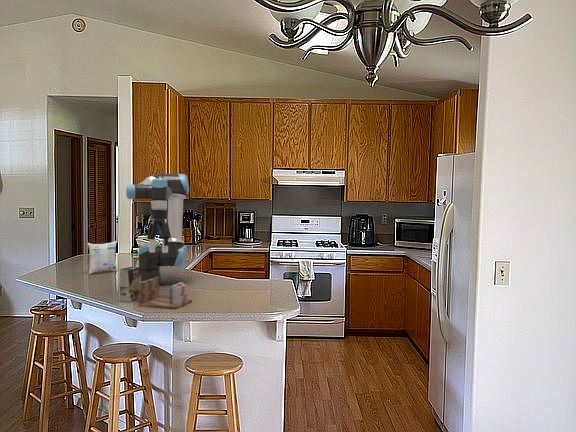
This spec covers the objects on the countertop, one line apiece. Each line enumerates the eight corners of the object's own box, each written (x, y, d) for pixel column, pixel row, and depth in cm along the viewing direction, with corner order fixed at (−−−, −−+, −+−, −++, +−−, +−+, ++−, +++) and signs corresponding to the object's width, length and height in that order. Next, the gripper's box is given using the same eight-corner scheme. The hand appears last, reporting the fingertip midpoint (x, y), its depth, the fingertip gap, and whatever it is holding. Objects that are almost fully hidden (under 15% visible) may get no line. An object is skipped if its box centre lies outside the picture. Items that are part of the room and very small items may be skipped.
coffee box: (130, 302, 270) (129, 270, 269) (119, 301, 273) (119, 269, 271) (141, 298, 279) (141, 267, 277) (131, 297, 281) (131, 266, 280)
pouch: (120, 272, 351) (119, 241, 349) (89, 275, 339) (89, 243, 337) (115, 270, 357) (115, 240, 355) (85, 273, 345) (85, 242, 344)
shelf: (156, 298, 278) (156, 277, 277) (191, 302, 272) (191, 279, 271) (138, 306, 263) (138, 282, 262) (175, 309, 257) (175, 285, 256)
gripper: (140, 210, 279) (140, 252, 278) (164, 208, 260) (163, 252, 259) (154, 211, 284) (153, 252, 283) (178, 208, 265) (177, 252, 264)
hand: (158, 252), depth 271 cm, fingers open, 13 cm apart
